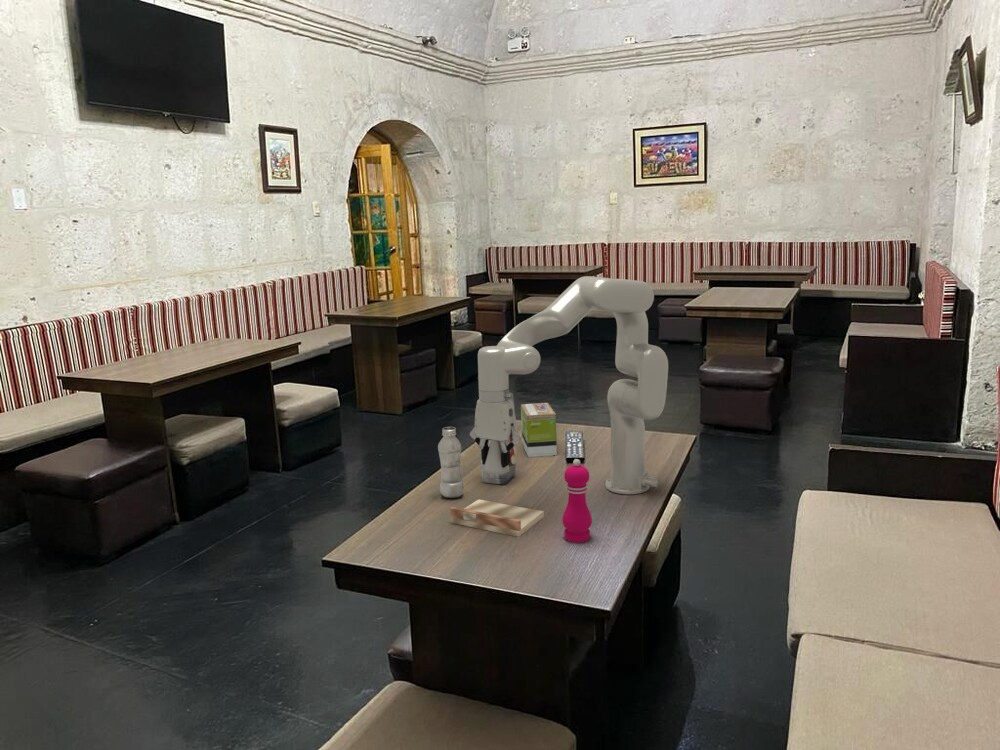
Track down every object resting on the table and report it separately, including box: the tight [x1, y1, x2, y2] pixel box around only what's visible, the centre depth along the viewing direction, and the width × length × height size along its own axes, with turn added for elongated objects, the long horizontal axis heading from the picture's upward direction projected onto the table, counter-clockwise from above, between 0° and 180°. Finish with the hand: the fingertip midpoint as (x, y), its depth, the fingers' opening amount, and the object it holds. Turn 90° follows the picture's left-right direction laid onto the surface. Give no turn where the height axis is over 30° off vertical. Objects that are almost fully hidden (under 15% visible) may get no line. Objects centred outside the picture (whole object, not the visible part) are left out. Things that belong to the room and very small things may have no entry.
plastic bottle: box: [437, 426, 465, 499], centre depth 211 cm, size 6×7×20 cm
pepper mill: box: [561, 458, 593, 544], centre depth 181 cm, size 7×7×20 cm
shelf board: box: [449, 498, 545, 538], centre depth 195 cm, size 20×14×4 cm
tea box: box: [520, 402, 558, 458], centre depth 251 cm, size 15×10×15 cm, turn 6°
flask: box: [483, 440, 510, 475], centre depth 191 cm, size 7×7×10 cm
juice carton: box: [479, 394, 517, 485], centre depth 223 cm, size 9×10×27 cm
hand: (495, 463), depth 192 cm, fingers closed on flask, 4 cm apart
